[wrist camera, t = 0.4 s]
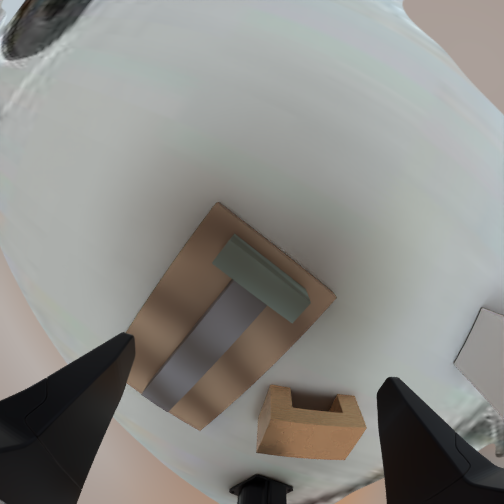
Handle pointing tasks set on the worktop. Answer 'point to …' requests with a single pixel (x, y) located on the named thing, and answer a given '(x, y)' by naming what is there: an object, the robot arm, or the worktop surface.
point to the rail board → (195, 299)
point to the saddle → (308, 427)
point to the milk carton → (485, 358)
